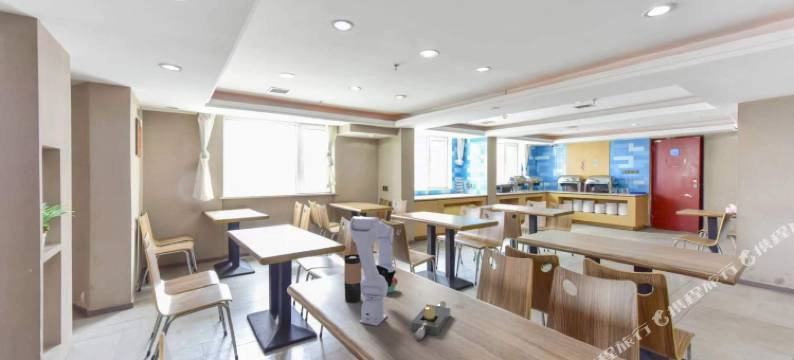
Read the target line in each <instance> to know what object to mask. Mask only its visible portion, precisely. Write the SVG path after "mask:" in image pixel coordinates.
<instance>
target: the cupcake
mask: <svg viewBox="0 0 794 360" xmlns="http://www.w3.org/2000/svg"><path fill="white" fill-rule="evenodd" d="M397 285H398V279H397V278H396V277H394V276H393V279H392V284H391V287H388V291H387V294H389V293H393V292H394V291H395V288H396V286H397Z"/></svg>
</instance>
